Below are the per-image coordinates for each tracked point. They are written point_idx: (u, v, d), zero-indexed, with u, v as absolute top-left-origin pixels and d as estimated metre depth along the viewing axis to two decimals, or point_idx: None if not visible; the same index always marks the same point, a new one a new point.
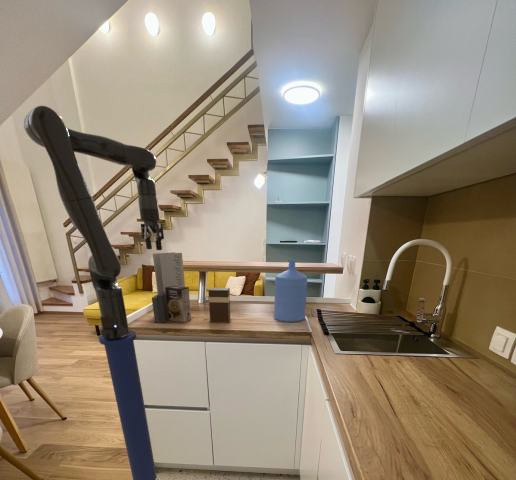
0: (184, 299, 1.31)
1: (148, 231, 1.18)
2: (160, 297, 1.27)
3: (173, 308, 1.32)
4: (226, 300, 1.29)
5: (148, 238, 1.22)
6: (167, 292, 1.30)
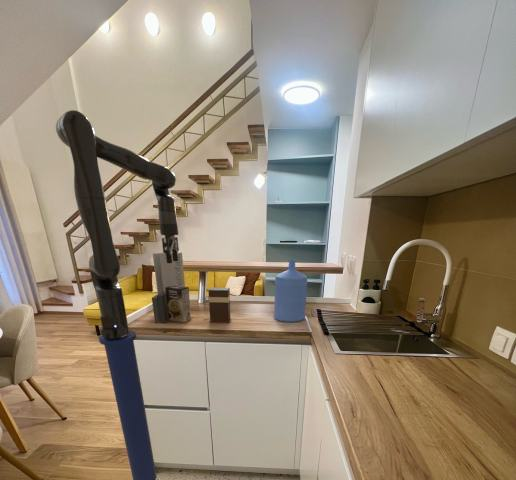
0: (184, 299, 1.31)
1: None
2: (160, 297, 1.27)
3: (173, 308, 1.32)
4: (226, 300, 1.29)
5: (174, 251, 1.29)
6: (167, 292, 1.30)
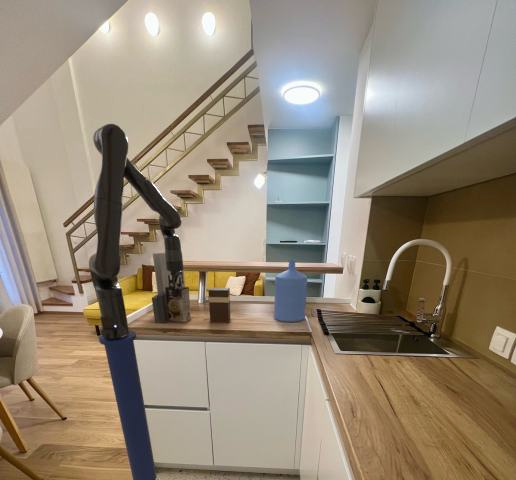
0: (184, 299, 1.31)
1: None
2: (160, 297, 1.27)
3: (173, 308, 1.32)
4: (226, 300, 1.29)
5: (179, 284, 1.34)
6: (167, 292, 1.30)
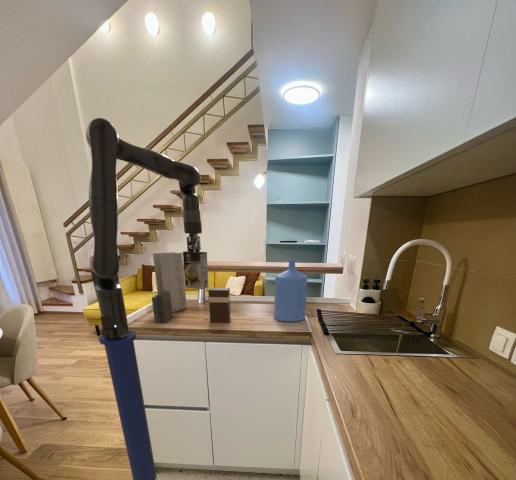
0: (202, 265, 1.24)
1: None
2: (160, 297, 1.27)
3: (190, 275, 1.26)
4: (226, 300, 1.29)
5: (197, 250, 1.28)
6: (185, 256, 1.24)
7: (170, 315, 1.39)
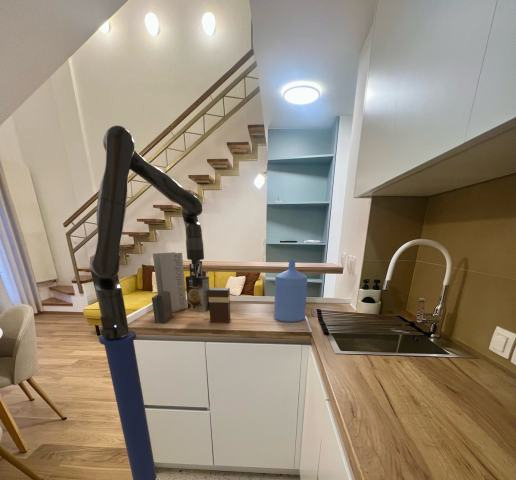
0: (204, 289, 1.28)
1: None
2: (160, 297, 1.27)
3: (193, 298, 1.30)
4: (226, 300, 1.29)
5: (199, 274, 1.32)
6: (187, 281, 1.28)
7: (170, 315, 1.39)
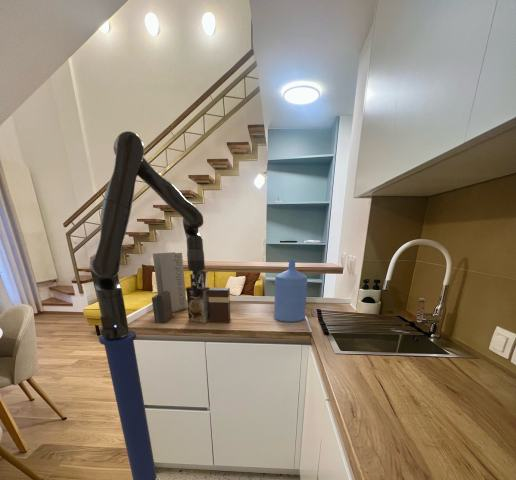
0: (205, 300, 1.30)
1: None
2: (160, 297, 1.27)
3: (193, 309, 1.32)
4: (226, 300, 1.29)
5: (200, 283, 1.34)
6: (188, 292, 1.30)
7: (170, 315, 1.39)
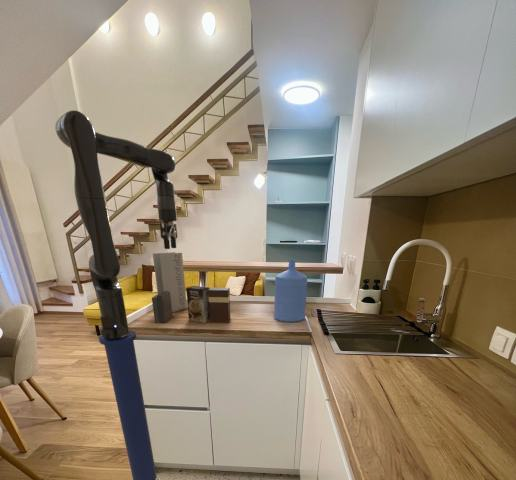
0: (205, 300, 1.30)
1: None
2: (160, 297, 1.27)
3: (193, 309, 1.32)
4: (226, 300, 1.29)
5: (173, 237, 1.28)
6: (188, 292, 1.30)
7: (170, 315, 1.39)
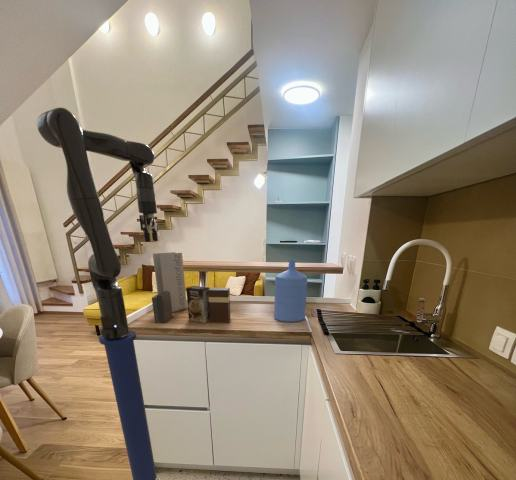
0: (205, 300, 1.30)
1: None
2: (160, 297, 1.27)
3: (193, 309, 1.32)
4: (226, 300, 1.29)
5: (154, 230, 1.28)
6: (188, 292, 1.30)
7: (170, 315, 1.39)
